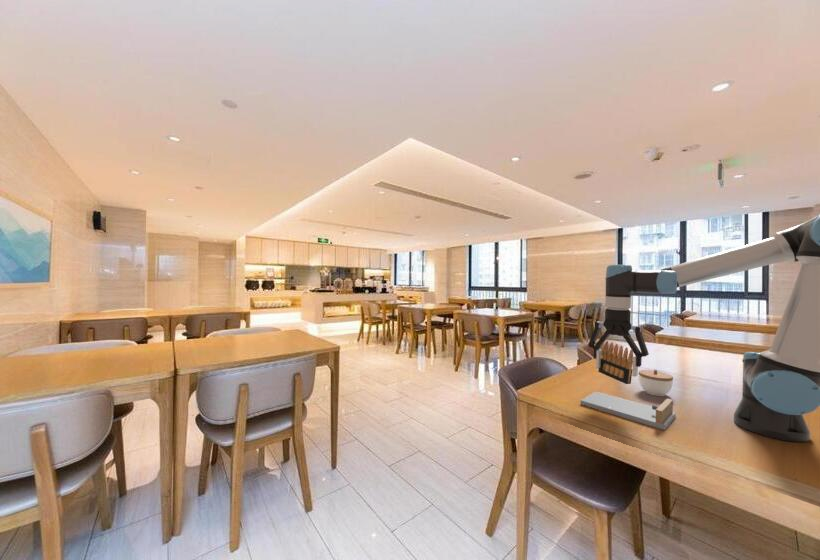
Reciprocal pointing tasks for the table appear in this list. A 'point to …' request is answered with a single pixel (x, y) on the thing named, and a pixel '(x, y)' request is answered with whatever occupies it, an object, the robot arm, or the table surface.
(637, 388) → the table surface
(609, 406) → the wall board
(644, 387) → the lidded jar
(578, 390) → the table surface
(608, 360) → the ammunition clip
